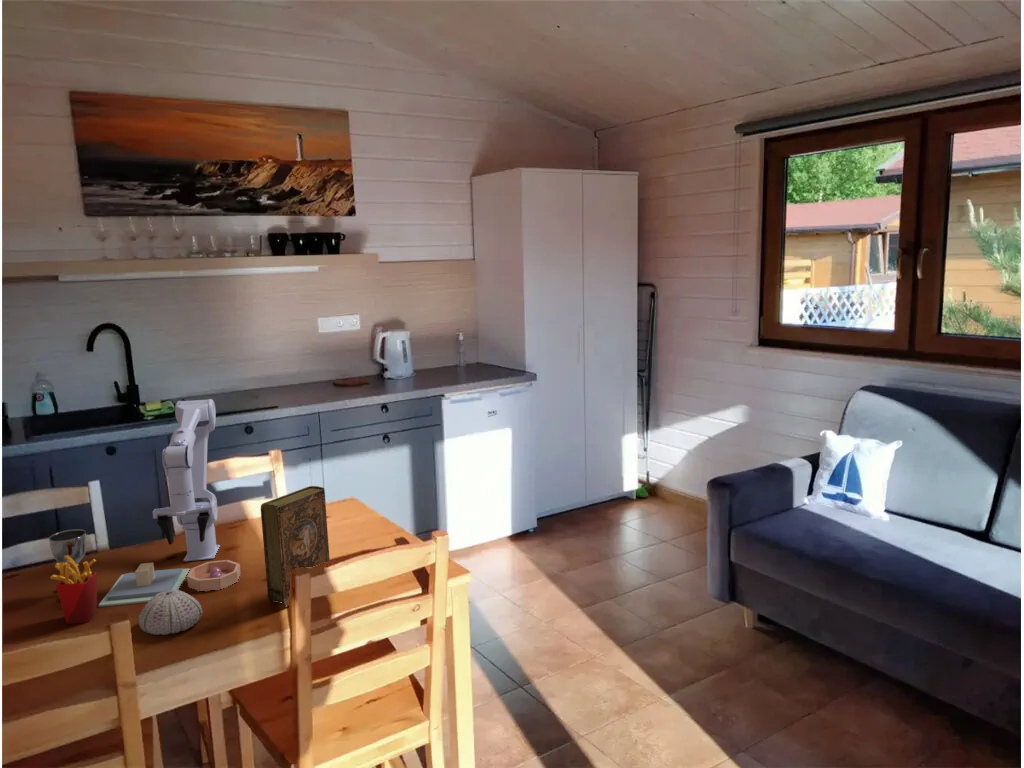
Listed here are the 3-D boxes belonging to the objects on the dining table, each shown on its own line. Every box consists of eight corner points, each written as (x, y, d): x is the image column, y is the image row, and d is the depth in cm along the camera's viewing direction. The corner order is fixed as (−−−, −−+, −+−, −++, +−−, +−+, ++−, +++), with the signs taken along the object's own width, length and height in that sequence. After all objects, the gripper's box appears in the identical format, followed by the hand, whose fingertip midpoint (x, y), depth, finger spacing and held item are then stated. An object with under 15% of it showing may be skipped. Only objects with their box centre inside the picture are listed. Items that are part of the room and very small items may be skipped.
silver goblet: (56, 601, 191) (48, 543, 188) (57, 589, 198) (49, 533, 195) (92, 593, 194) (85, 536, 192) (93, 582, 201) (85, 527, 199)
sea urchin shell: (146, 616, 182) (143, 584, 180) (208, 609, 184) (204, 577, 183) (133, 644, 169) (128, 609, 167) (199, 635, 172) (195, 601, 170)
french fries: (103, 610, 185) (95, 550, 182) (88, 626, 177) (80, 564, 174) (63, 613, 184) (55, 553, 181) (47, 630, 176) (38, 567, 173)
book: (319, 578, 199) (312, 485, 195) (334, 583, 196) (327, 488, 192) (268, 604, 186) (259, 504, 181) (284, 609, 183) (275, 508, 178)
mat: (121, 576, 204) (121, 574, 204) (190, 570, 207) (189, 568, 207) (98, 607, 187) (98, 605, 187) (173, 599, 190) (173, 597, 190)
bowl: (195, 573, 205) (194, 563, 204) (242, 569, 207) (241, 558, 206) (184, 593, 193) (183, 582, 192) (235, 588, 195) (234, 577, 194)
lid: (125, 577, 203) (123, 558, 202) (182, 571, 205) (180, 553, 204) (107, 600, 189) (105, 581, 188) (168, 594, 191) (166, 575, 190)
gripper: (147, 498, 194) (153, 550, 197) (207, 493, 197) (213, 544, 199) (154, 490, 201) (160, 540, 203) (213, 485, 204) (218, 534, 206)
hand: (186, 541), depth 202 cm, fingers open, 7 cm apart
